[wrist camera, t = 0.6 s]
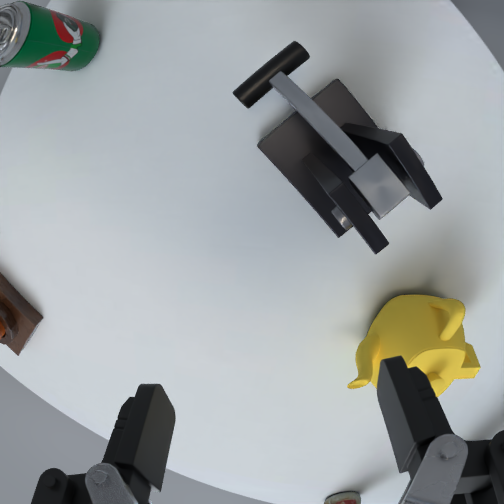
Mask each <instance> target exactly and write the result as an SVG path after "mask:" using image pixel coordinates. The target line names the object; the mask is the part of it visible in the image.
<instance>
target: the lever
mask: <svg viewBox="0 0 504 504" xmlns="http://www.w3.org/2000/svg"><path fill="white" fill-rule="evenodd" d="M309 58H310V56H309V54H308V52H307V51H306V49H305V48H304V47H303V46H302V45H300V44H299V43H298V42H296V41H293V42H292V43H291V44H289V45H288V46H287V47H286V48H284V49H283V50H282V51H280V52H279V53H278V54H277V55H275V56H274V57H273V58H272V59H271V60H269V61H268V62H267V63H266V64H264V65H263V66H262V67H261V68H260V69H259V70H257V71H256V72H255V73H254V74H253V75H251V76H250V77H249V78H248V79H247V80H246V81H245V82H243V83H242V84H241V85H240V86H239V87H238V88H237V89H235V90H234V91H233V94H234V95H235V97H236V98H237V99H238V100H239V101H240V102H241V103H242V104H243V105H244V106H246V107H247V108H250V107H251V106H252V105H253V104H255V103H256V102H257V101H258V100H259V99H260V98H262V97H263V96H264V95H265V94H266V93H267V92H269V91H270V90H271V89H272V88H274V89H275V90H276V91H277V92H278V93H279V94H280V95H281V96H282V97H283V98H284V99H285V100H286V101H287V102H288V103H289V104H290V105H291V106H292V107H293V108H294V109H295V110H296V111H297V112H298V113H299V114H300V115H301V116H302V117H303V118H304V119H305V120H306V121H307V122H308V123H309V124H310V125H311V126H312V127H313V128H314V129H315V130H316V131H317V132H318V134H319V135H320V136H321V137H322V138H323V139H324V140H325V141H326V142H327V143H328V144H329V145H330V147H331V148H332V149H333V150H334V151H335V152H336V153H337V154H338V156H339V157H340V158H341V159H342V160H343V161H344V162H345V164H346V165H347V166H348V167H349V168H350V169H351V171H352V172H353V173H352V174H351V175H350V176H349V177H348V179H349V181H350V184H351V186H352V187H353V188H354V189H355V191H356V192H357V193H358V194H359V196H360V197H361V198H362V199H363V201H364V202H365V203H366V204H367V206H368V207H369V208H370V209H371V211H372V212H373V213H374V214H375V216H376V217H377V218H378V219H379V220H380V219H381V218H383V217H384V216H385V215H386V214H388V213H389V212H390V211H391V210H392V209H394V208H395V207H396V206H397V205H398V204H400V203H401V202H402V201H403V200H404V199H406V198H407V197H408V196H409V195H410V191H409V190H408V188H407V187H406V186H405V185H404V183H403V182H402V181H401V180H400V178H399V177H398V176H397V175H396V174H395V172H394V171H393V170H392V169H391V168H390V166H389V165H388V164H387V163H386V162H385V161H384V159H383V158H382V157H381V156H380V155H379V154H378V153H377V154H375V155H374V156H373V157H372V158H370V159H369V160H368V158H367V157H366V156H365V155H364V154H363V153H362V152H361V150H360V149H359V148H358V147H357V146H356V145H355V144H354V143H353V142H352V140H351V139H350V138H349V137H348V136H347V135H346V134H345V133H344V132H343V131H342V130H341V129H340V128H339V126H338V125H337V124H336V123H335V122H334V121H333V120H332V119H331V118H330V117H329V116H328V115H327V114H326V113H325V112H324V111H323V110H322V109H321V108H320V107H319V106H318V105H317V104H316V103H315V102H314V101H313V100H312V99H311V98H310V97H309V96H308V95H307V94H306V93H305V92H304V91H302V90H301V89H300V88H299V87H298V86H297V85H296V84H295V83H294V82H293V81H292V80H291V79H290V78H288V77H287V76H288V75H289V74H290V73H291V72H293V71H294V70H295V69H296V68H298V67H299V66H300V65H301V64H303V63H304V62H305V61H306V60H308V59H309Z"/></svg>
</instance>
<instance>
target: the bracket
mask: <svg viewBox="0 0 504 504" xmlns="http://www.w3.org/2000/svg"><path fill="white" fill-rule="evenodd" d="M311 99H312V100H313V101H314V102H315V103H316V104H317V105H318V106H319V107H320V108H321V109H322V110H323V111H324V112H325V113H326V114H327V115H328V116H329V117H330V118H331V119H332V120H333V121H334V122H335V123H336V124H337V125H338V126H339V128H340V129H341V130H342V131H343V132H344V133H345V134H346V135H347V136H348V137H349V138H350V139H351V140H352V142H353V143H354V144H355V145H356V146H357V147H358V148H359V149H360V150H361V152H362V153H363V154H364V155H365V156H366V157H367V158H368V160H369V159H370V158H372V157H373V156H374V155H375V154H377V153H378V154H379V155H380V156H381V157H382V158H383V159H384V161H385V162H386V163H387V164H388V165H389V166H390V168H391V169H392V170H393V171H394V172H395V174H396V175H397V176H398V177H399V178H400V180H401V181H402V182H403V183H404V185H405V186H406V187H407V188H408V190H409V191H410V196H411V197H413V198H414V199H416V200H417V201H419V202H420V203H422V204H423V205H424V206H426V207H427V208H429V209H430V210H431V209H432V208H433V207H434V206H435V205H437V204H438V203H439V202H440V201H441V200H442V197H441V195H440V193H439V192H438V190H437V188H436V186H435V185H434V183H433V181H432V180H431V178H430V176H429V175H428V173H427V171H426V170H425V168H424V162H423V160H422V158H421V157H420V155H419V154H418V153H417V152H416V151H415V150H414V149H413V148H411V146H410V145H409V143H408V142H407V140H406V139H405V137H404V136H403V134H401V133H397V132H392V131H388V130H383V129H378V127H377V126H376V125H375V123H374V122H373V121H372V119H371V118H370V117H369V115H368V114H367V113H366V112H365V110H364V109H363V108H362V107H361V105H360V104H359V103H358V102H357V100H356V99H355V98H354V97H353V95H352V94H351V93H350V92H349V91H348V89H347V88H346V87H345V86H344V85H343V84H342V82H341V81H340V80H339V79H335V80H333V81H332V82H331V83H330V84H328V85H327V86H326V87H325V88H323V89H322V90H321V91H320V92H318V93H317V94H316V95H315V96H313V97H312V98H311ZM257 147H258V148H259V149H260V150H261V151H262V152H263V153H264V154H265V155H266V156H267V157H268V158H269V160H270V161H271V162H272V163H273V164H274V165H275V166H276V167H277V168H278V169H279V170H280V171H281V173H282V174H283V175H284V176H285V177H286V178H287V179H288V180H289V181H290V183H291V184H292V185H293V186H294V187H295V188H296V189H297V190H298V191H299V193H300V194H301V195H302V196H303V197H304V198H305V199H306V201H307V202H308V203H309V204H310V205H311V206H312V207H313V209H314V210H315V211H316V212H317V213H318V214H319V215H320V217H321V218H322V219H323V220H324V221H325V223H326V224H327V225H328V226H329V227H330V228H331V230H332V231H333V232H334V233H335V234H336V236H337V237H338V238H339V237H340V236H342V235H343V234H344V233H345V232H347V231H348V230H349V229H350V228H352V227H353V226H354V228H355V229H356V230H357V231H358V233H359V234H360V235H361V237H362V238H363V239H364V240H365V242H366V243H367V244H368V246H369V247H370V248H371V250H372V251H373V252H374V254H377V253H379V252H380V251H381V250H382V249H384V248H385V247H386V246H387V245H389V242H388V241H387V239H386V238H385V236H384V235H383V234H382V232H381V231H380V230H379V228H378V227H377V225H376V224H375V223H374V221H373V220H372V219H371V217H370V216H369V215H368V214H369V213H370V212H371V209H370V208H369V207H368V206H367V204H366V203H365V202H364V201H363V199H362V198H361V197H360V196H359V194H358V193H357V192H356V191H355V189H354V188H353V187H352V186H351V184H350V181H349V179H348V177H349V176H350V175H351V174H352V173H353V172H352V171H351V169H350V168H349V167H348V166H347V165H346V164H345V162H344V161H343V160H342V159H341V158H340V157H339V156H338V154H337V153H336V152H335V151H334V150H333V149H332V148H331V147H330V145H329V144H328V143H327V142H326V141H325V140H324V139H323V138H322V137H321V136H320V135H319V134H318V132H317V131H316V130H315V129H314V128H313V127H312V126H311V125H310V124H309V123H308V122H307V121H306V120H305V119H304V118H303V117H302V116H301V115H300V114H299V113H298V112H297V111H295V112H294V113H293V114H292V115H291V116H289V117H288V118H287V119H286V120H285V121H284V122H282V123H281V124H280V125H279V126H278V127H277V128H275V129H274V130H273V131H272V132H271V133H270V134H268V135H267V136H266V137H265V138H264V139H263V140H262V141H260V142H259V143H258V144H257Z"/></svg>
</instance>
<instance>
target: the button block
mask: <svg viewBox="0 0 504 504" xmlns="http://www.w3.org/2000/svg"><path fill="white" fill-rule="evenodd" d="M42 319H43V317H42V316H41V315H40V314H39V313H38V312H37V311H36V310H35V309H34V308H33V307H32V306H31V305H30V304H29V303H28V302H27V301H26V300H25V299H24V298H23V297H22V296H21V295H20V294H19V292H18V291H17V290H16V289H15V288H14V287H13V286H12V285H11V284H10V283H9V282H8V281H7V280H6V278H5V277H4V276H3V275H2V274H1V273H0V321H1V323H2V325H3V326H4V328H5V334H4V335H3V336H2V337H1V339H0V343H2V344H6V345H7V346H8V347H9V348H10V349H11V350H12V351H13V352H15V353H16V354H17V355H18V356H19V354H20V353H21V352H22V350H23V349H24V348H25V346H26V345H27V343H28V341H29V340H30V338H31V336H32V335H33V333H34V331H35V330H36V328H37V327H38V325H39V324H40V322H41V320H42Z"/></svg>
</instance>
